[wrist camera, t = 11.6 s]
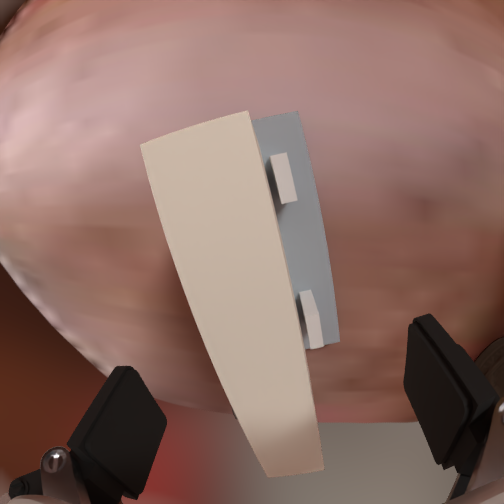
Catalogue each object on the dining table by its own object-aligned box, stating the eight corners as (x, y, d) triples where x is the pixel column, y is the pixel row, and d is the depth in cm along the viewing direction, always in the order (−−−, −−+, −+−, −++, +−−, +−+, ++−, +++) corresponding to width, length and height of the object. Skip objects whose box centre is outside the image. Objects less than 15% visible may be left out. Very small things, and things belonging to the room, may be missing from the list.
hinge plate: (295, 114, 20) (305, 99, 15) (336, 332, 26) (349, 368, 21) (174, 145, 21) (148, 141, 16) (236, 352, 27) (231, 390, 22)
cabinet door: (259, 144, 20) (247, 110, 7) (301, 331, 24) (324, 469, 11) (203, 159, 20) (104, 159, 7) (255, 340, 25) (246, 479, 12)
